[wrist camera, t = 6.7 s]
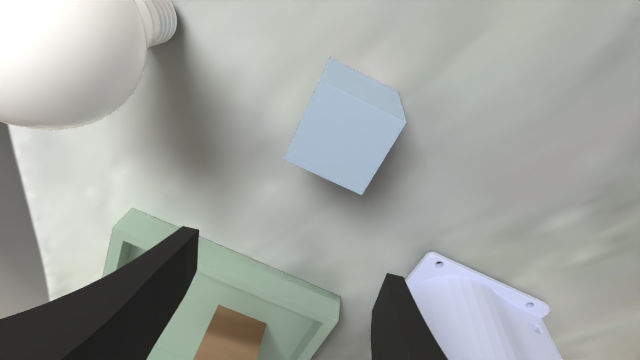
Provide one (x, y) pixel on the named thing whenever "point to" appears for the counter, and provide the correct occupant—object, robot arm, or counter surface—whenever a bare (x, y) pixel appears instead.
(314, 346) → the tray
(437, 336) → the robot arm
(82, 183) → the counter surface
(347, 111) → the bluegrey block
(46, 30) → the lightbulb
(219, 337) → the walnut block
